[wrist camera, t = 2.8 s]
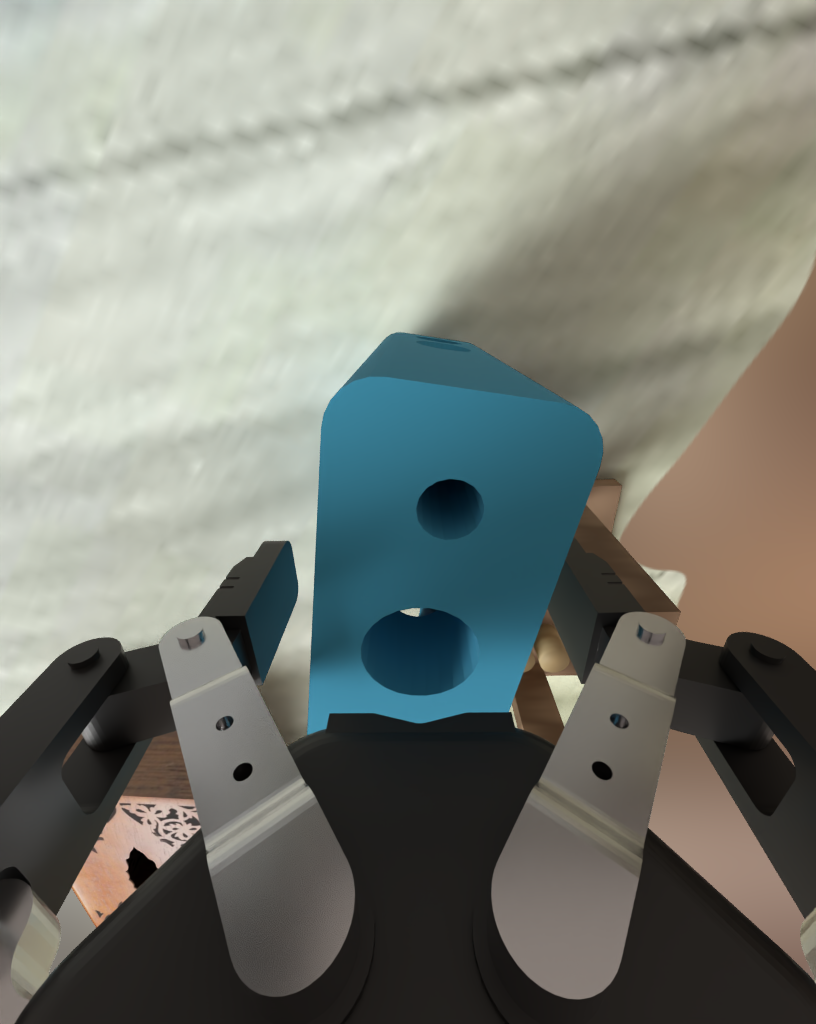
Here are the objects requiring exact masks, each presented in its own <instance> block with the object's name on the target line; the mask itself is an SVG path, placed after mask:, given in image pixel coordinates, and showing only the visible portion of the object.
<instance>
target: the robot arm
mask: <svg viewBox="0 0 816 1024" xmlns="http://www.w3.org/2000/svg"><path fill="white" fill-rule="evenodd" d="M297 596H298V580H297V575H296V569H295V563H294V557H293V552H292V546H291V544H290V542H289V541H264V542H263V543H262V545H261V546H260V548H259V549H258V551H257V552H256V554H255V555H254V557H246V558H245V559H244V560H242V561H241V562H239V563H238V564H237V565H235V566H234V567H233V568H232V570H231V571H230V572H229V574H228V575H227V577H226V580H224V581H223V582H222V584H221V585H220V589H217V591H216V592H215V594H214V595H213V596H212V598H211V599H210V601H209V602H208V604H207V605H206V606H205V608H204V609H203V611H202V612H201V613H200V615H199V616H198V617H196V618H192V619H189V620H186V621H183V622H181V623H179V624H177V625H175V626H174V627H172V628H171V629H170V630H169V631H167V632H166V633H165V634H164V635H163V637H162V638H161V640H160V642H159V644H157V645H153V646H149V647H145V648H140V649H136V650H132V651H128V652H124V650H123V648H122V645H121V643H120V642H119V641H118V640H117V639H114V638H97V639H92V640H89V641H86V642H83V643H81V644H78V645H76V646H74V647H72V648H70V649H69V650H67V651H66V652H64V653H63V654H61V655H60V656H59V657H58V658H56V659H55V660H54V661H53V662H52V663H51V664H50V666H49V667H48V668H47V669H46V670H45V671H44V672H43V673H42V674H41V675H40V676H39V677H38V678H37V679H36V680H35V681H34V682H33V683H32V684H31V685H30V687H29V688H28V689H27V690H26V691H25V692H24V693H23V694H22V695H21V696H20V697H19V698H18V699H17V700H16V701H15V702H14V703H13V704H12V705H11V706H10V708H9V709H8V710H7V711H6V712H5V713H4V714H3V715H2V716H1V717H0V1024H816V671H815V670H814V669H813V668H812V667H811V666H810V665H809V664H808V663H807V662H806V661H805V660H804V659H803V658H802V657H801V656H800V655H799V654H797V653H796V652H795V651H794V650H792V649H791V648H789V647H788V646H786V645H784V644H783V643H781V642H779V641H777V640H774V639H772V638H769V637H766V636H763V635H759V634H756V633H750V632H738V633H734V634H731V635H730V636H729V637H728V638H727V640H726V643H725V645H724V647H720V646H714V645H710V644H705V643H700V642H695V641H691V640H687V639H685V636H684V634H683V633H682V632H681V630H680V629H679V628H678V627H677V626H676V625H674V624H673V623H671V622H670V621H668V620H666V619H664V618H662V617H660V616H657V615H654V614H651V613H646V612H645V610H644V609H643V608H642V607H641V605H640V604H639V603H638V601H637V600H636V599H635V598H634V596H633V595H632V594H631V592H630V591H629V590H628V588H627V587H626V586H625V585H624V584H622V581H621V579H620V578H619V577H618V576H617V575H615V572H614V570H613V569H612V568H611V567H610V565H609V564H608V563H607V562H606V561H605V560H603V559H602V558H600V557H598V556H597V555H595V554H594V553H586V552H585V551H584V549H583V548H582V546H581V545H580V544H579V542H578V541H577V539H576V538H573V541H572V543H571V546H570V549H569V551H568V554H567V557H566V559H565V562H564V565H563V567H562V570H561V573H560V575H559V578H558V581H557V584H556V586H555V589H554V592H553V594H552V597H551V600H550V602H549V605H548V608H547V609H548V611H549V613H550V616H551V618H552V620H553V622H554V625H555V627H556V629H557V631H558V633H559V636H560V638H561V640H562V642H563V644H564V647H565V649H566V651H567V653H568V655H569V658H570V660H571V662H572V664H573V667H574V669H575V671H576V673H577V675H578V678H579V680H580V682H581V684H585V685H584V687H583V689H582V691H581V693H580V696H579V698H578V700H577V702H576V704H575V706H574V708H573V710H572V712H571V715H570V717H569V719H568V721H567V723H566V725H565V727H564V729H563V732H562V734H561V736H560V738H559V740H558V742H557V744H556V746H555V745H554V744H552V743H551V742H549V741H547V740H546V739H544V738H542V737H540V736H538V735H535V734H533V733H531V732H528V731H525V730H522V729H518V728H515V726H514V722H513V718H512V713H511V712H466V713H462V714H458V715H454V716H450V717H446V718H442V719H438V720H434V721H430V722H426V723H414V722H409V721H405V720H401V719H397V718H392V717H388V716H384V715H380V714H376V713H329V718H328V723H327V727H326V729H323V730H320V731H317V732H314V733H311V734H309V735H307V736H305V737H303V738H301V739H299V740H297V741H295V742H294V743H292V744H291V745H289V746H288V747H287V746H286V744H285V742H284V740H283V738H282V736H281V734H280V732H279V730H278V728H277V726H276V724H275V722H274V720H273V718H272V716H271V714H270V712H269V710H268V708H267V706H266V704H265V702H264V700H263V698H262V696H261V694H260V692H259V690H258V688H257V686H256V685H263V683H264V680H265V678H266V675H267V673H268V670H269V668H270V665H271V663H272V660H273V658H274V656H275V653H276V651H277V648H278V646H279V643H280V641H281V638H282V636H283V633H284V631H285V628H286V626H287V623H288V621H289V618H290V616H291V613H292V611H293V608H294V606H295V604H296V601H297ZM670 729H673V730H677V731H680V732H684V733H687V734H691V735H695V736H696V738H697V740H698V741H699V743H700V745H701V746H702V748H703V750H704V751H705V753H706V754H707V756H708V758H709V760H710V761H711V763H712V764H713V766H714V768H715V770H716V771H717V773H718V775H719V776H720V778H721V779H722V781H723V783H724V785H725V786H726V788H727V790H728V791H729V793H730V795H731V796H732V798H733V800H734V801H735V803H736V805H737V806H738V808H739V810H740V811H741V813H742V815H743V816H744V818H745V820H746V821H747V823H748V825H749V826H750V828H751V830H752V831H753V833H754V835H755V836H756V838H757V840H758V841H759V843H760V845H761V846H762V848H763V850H764V851H765V853H766V854H767V856H768V858H769V860H770V861H771V863H772V865H773V866H774V868H775V870H776V871H777V873H778V875H779V876H780V878H781V880H782V881H783V883H784V885H785V886H786V888H787V890H788V891H789V893H790V895H791V896H792V898H793V900H794V901H795V903H796V905H797V906H798V908H799V910H800V912H801V913H802V915H803V917H804V918H805V920H804V922H803V923H802V926H801V930H800V932H801V933H800V939H801V945H802V949H803V952H804V955H805V958H806V960H807V962H808V964H809V966H810V969H811V971H812V973H813V975H814V980H813V979H812V978H811V977H810V976H809V975H808V974H807V973H806V972H805V971H804V970H803V969H802V968H801V967H800V966H799V965H798V964H797V963H796V962H795V961H794V960H793V959H792V958H791V957H790V956H789V955H788V954H786V953H785V952H784V951H783V950H782V949H781V948H780V947H779V946H778V945H777V944H775V943H774V942H773V941H772V940H771V939H770V938H769V937H768V936H767V935H766V934H764V933H763V932H762V931H761V930H760V929H759V928H758V927H757V926H756V925H754V923H752V922H751V921H750V920H749V919H748V918H747V917H746V916H745V915H744V914H743V913H741V912H740V911H739V910H738V909H737V908H736V907H735V906H734V905H733V904H732V903H730V902H729V901H728V900H727V899H726V898H725V897H724V896H723V895H721V893H719V892H718V891H717V890H716V889H715V888H714V887H713V886H712V885H710V883H708V882H707V881H706V880H705V879H704V878H703V877H702V876H701V875H700V874H699V873H697V872H696V871H695V870H694V869H693V868H692V867H691V866H690V865H689V864H687V863H686V862H685V861H684V860H683V859H682V858H681V857H680V856H679V855H678V854H676V853H675V852H674V851H673V850H672V849H671V848H670V847H669V846H668V845H666V844H665V843H664V842H663V841H662V840H661V839H660V838H659V837H658V836H657V835H655V834H654V833H653V832H652V831H651V830H650V829H649V828H648V823H649V819H650V815H651V811H652V806H653V802H654V797H655V792H656V788H657V784H658V779H659V775H660V770H661V766H662V761H663V757H664V752H665V747H666V743H667V739H668V734H669V730H670ZM174 731H177V734H178V738H179V742H180V746H181V750H182V754H183V758H184V762H185V766H186V770H187V774H188V778H189V782H190V786H191V790H192V794H193V798H194V802H195V806H196V810H197V814H198V818H199V822H200V826H201V828H200V829H199V830H198V831H197V832H196V833H195V834H194V835H193V836H192V837H191V838H189V839H188V840H187V841H186V842H185V843H184V844H183V845H182V846H181V847H180V848H179V849H178V850H177V851H176V852H175V853H174V854H173V855H172V856H171V857H170V858H169V859H168V860H167V861H166V862H164V863H163V864H162V865H161V866H160V867H159V868H158V869H157V870H156V871H155V872H154V873H153V874H152V875H151V876H150V877H149V878H148V879H147V880H146V881H145V882H144V883H143V884H142V885H141V886H139V887H138V888H137V889H136V890H135V891H134V892H133V893H132V894H131V895H130V896H129V897H128V898H127V899H126V900H125V901H124V902H123V903H122V904H121V905H120V906H119V907H118V908H117V909H116V910H114V911H113V912H112V913H111V914H110V915H109V916H108V917H107V918H106V919H105V920H104V921H103V922H102V923H101V924H100V925H99V926H98V927H97V928H96V929H95V930H94V931H93V932H92V933H91V934H89V935H88V936H87V938H85V939H84V940H83V941H82V942H81V943H80V944H79V945H78V946H77V947H76V948H75V949H74V950H73V951H72V952H71V953H70V954H69V955H68V956H67V957H66V958H65V959H64V960H63V961H62V962H61V963H60V964H59V965H58V966H57V967H56V968H55V969H54V971H53V972H52V973H51V974H50V972H49V970H50V968H51V966H52V963H53V960H54V958H55V956H56V953H57V950H58V947H59V943H60V937H61V926H60V923H59V920H58V918H57V917H56V915H57V913H58V911H59V909H60V908H61V906H62V904H63V902H64V900H65V898H66V896H67V895H68V893H69V891H70V889H71V887H72V886H73V884H74V882H75V880H76V878H77V876H78V875H79V873H80V871H81V869H82V867H83V865H84V864H85V862H86V860H87V858H88V856H89V855H90V853H91V851H92V849H93V847H94V845H95V844H96V842H97V840H98V838H99V836H100V834H101V833H102V831H103V829H104V827H105V825H106V823H107V822H108V820H109V818H110V816H111V814H112V812H113V811H114V809H115V807H116V805H117V803H118V801H119V800H120V798H121V796H122V794H123V792H124V790H125V789H126V787H127V785H128V783H129V781H130V779H131V778H132V776H133V774H134V772H135V770H136V769H137V767H138V765H139V763H140V761H141V759H142V758H143V756H144V754H145V752H146V750H147V748H148V747H149V745H150V743H151V741H152V739H153V738H154V737H157V736H160V735H164V734H167V733H171V732H174ZM81 734H82V736H83V739H82V740H81V742H80V743H79V744H78V746H77V747H76V749H75V750H74V751H73V753H72V754H71V756H70V757H69V758H68V760H67V761H66V763H65V764H64V765H63V762H64V759H65V757H66V755H67V753H68V752H69V750H70V749H71V747H72V746H73V744H74V743H75V742H76V740H77V739H78V738H79V736H80V735H81ZM774 734H775V735H776V737H777V738H778V739H779V740H780V742H781V743H782V744H783V745H784V747H785V748H786V749H787V751H788V752H789V754H790V755H791V757H792V760H793V762H794V765H795V767H794V765H793V764H792V763H791V761H790V760H789V759H788V758H787V756H786V755H785V754H784V752H783V751H782V750H781V749H780V747H779V746H778V745H777V743H776V742H775V741H774V739H773V738H772V737H773V735H774ZM62 765H63V767H62Z"/></svg>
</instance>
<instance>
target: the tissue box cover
mask: <svg viewBox="0 0 816 1024" xmlns="http://www.w3.org/2000/svg"><path fill="white" fill-rule="evenodd" d="M82 739H83V736H82V734H81V735H80V736H79V738H78V739H77V740H76V742H75V743H74V744H73V746H72V747H71V749H70V750H69V752H68V753H67V755H66V757H65V759H64V762H63V765H64V764H65V763H66V761H67V760H68V758H69V757H70V756H71V754H72V753H73V751H74V750H75V749H76V747H77V746H78V744H79V743H80V742H81V740H82ZM63 765H62V767H63ZM200 828H201V826H200V822H199V818H198V814H197V810H196V806H195V802H194V798H193V794H192V790H191V786H190V782H189V778H188V774H187V770H186V766H185V762H184V758H183V754H182V750H181V746H180V742H179V738H178V734H177V731H174V732H171V733H167V734H164V735H160V736H157V737H154V738H153V739H152V741H151V743H150V745H149V747H148V748H147V750H146V752H145V754H144V756H143V758H142V759H141V761H140V763H139V765H138V767H137V769H136V770H135V772H134V774H133V776H132V778H131V779H130V781H129V783H128V785H127V787H126V789H125V790H124V792H123V794H122V796H121V798H120V800H119V801H118V803H117V805H116V807H115V809H114V811H113V812H112V814H111V816H110V818H109V820H108V822H107V823H106V825H105V827H104V829H103V831H102V833H101V834H100V836H99V838H98V840H97V842H96V844H95V845H94V847H93V849H92V851H91V853H90V855H89V856H88V858H87V860H86V862H85V864H84V865H83V867H82V869H81V871H80V873H79V875H78V876H77V878H76V880H75V882H74V884H73V886H72V887H71V888H72V889H73V891H74V893H75V894H76V896H77V897H78V899H79V901H80V902H81V904H82V906H83V907H84V909H85V910H86V912H87V914H88V915H89V917H90V918H91V920H92V921H93V923H94V925H95V926H96V928H97V927H98V926H99V925H100V924H101V923H102V922H103V921H104V920H105V919H106V918H107V917H108V916H109V915H110V914H111V913H112V912H113V911H114V910H116V909H117V908H118V907H119V906H120V905H121V904H122V903H123V902H124V901H125V900H126V899H127V898H128V897H129V896H130V895H131V894H132V893H133V892H134V891H135V890H136V889H137V888H138V887H139V886H141V885H142V884H143V883H144V882H145V881H146V880H147V879H148V878H149V877H150V876H151V875H152V874H153V873H154V872H155V871H156V870H157V869H158V868H159V867H160V866H161V865H162V864H163V863H164V862H166V861H167V860H168V859H169V858H170V857H171V856H172V855H173V854H174V853H175V852H176V851H177V850H178V849H179V848H180V847H181V846H182V845H183V844H184V843H185V842H186V841H187V840H188V839H189V838H191V837H192V836H193V835H194V834H195V833H196V832H197V831H198V830H199V829H200Z"/></svg>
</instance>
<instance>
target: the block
mask: <svg viewBox="0 0 816 1024" xmlns="http://www.w3.org/2000/svg"><path fill="white" fill-rule="evenodd" d="M602 456H603V439H602V436H601V433H600V431H599V428H598V426H597V424H596V423H595V422H594V421H593V419H592V418H591V417H590V415H588V414H587V413H585V412H584V411H582V410H581V409H579V408H578V407H576V406H574V405H573V404H571V403H569V402H568V401H566V400H564V399H563V398H561V397H559V396H558V395H556V394H554V393H553V392H551V391H549V390H548V389H546V388H544V387H543V386H541V385H539V384H538V383H536V382H534V381H533V380H531V379H530V378H528V377H526V376H525V375H523V374H521V373H520V372H518V371H516V370H515V369H513V368H511V367H510V366H508V365H506V364H505V363H503V362H501V361H500V360H498V359H496V358H495V357H493V356H491V355H490V354H488V353H486V352H485V351H483V350H481V349H480V348H478V347H476V346H475V345H473V344H470V343H467V342H461V341H454V340H448V339H441V338H435V337H428V336H422V335H415V334H409V333H394V334H391V335H389V336H388V337H386V339H385V340H384V341H383V342H382V343H381V344H380V345H379V346H378V347H377V349H376V350H375V351H374V352H373V353H372V354H371V355H370V356H369V357H368V359H367V360H366V361H365V362H364V363H363V364H362V365H361V366H360V368H359V369H358V370H357V371H356V372H355V373H354V374H353V375H352V377H351V378H350V379H349V380H348V381H347V382H346V383H345V384H344V386H343V387H342V388H341V389H340V390H339V391H338V392H337V393H336V395H335V396H334V397H333V398H332V399H331V400H330V402H329V404H328V406H327V408H326V410H325V412H324V416H323V421H322V427H321V445H320V467H319V489H318V510H317V532H316V554H315V576H314V598H313V620H312V641H311V663H310V685H309V707H308V729H307V735H309V734H311V733H314V732H317V731H320V730H323V729H326V727H327V723H328V718H329V713H376V714H380V715H384V716H388V717H392V718H397V719H401V720H405V721H409V722H414V723H426V722H430V721H434V720H438V719H442V718H446V717H450V716H454V715H458V714H462V713H466V712H509V710H510V707H511V704H512V702H513V699H514V696H515V693H516V691H517V688H518V685H519V683H520V680H521V677H522V675H523V672H524V669H525V667H526V664H527V661H528V659H529V656H530V653H531V651H532V648H533V645H534V643H535V640H536V637H537V634H538V632H539V629H540V626H541V624H542V621H543V618H544V616H545V613H546V610H547V608H548V605H549V602H550V600H551V597H552V594H553V592H554V589H555V586H556V584H557V581H558V578H559V575H560V573H561V570H562V567H563V565H564V562H565V559H566V557H567V554H568V551H569V549H570V546H571V543H572V541H573V538H574V535H575V533H576V530H577V527H578V525H579V522H580V519H581V516H582V514H583V511H584V508H585V506H586V503H587V500H588V498H589V495H590V492H591V490H592V487H593V484H594V482H595V479H596V476H597V474H598V471H599V468H600V465H601V460H602ZM410 608H420V613H419V616H418V617H415V616H410V615H406V614H404V613H402V612H401V611H400V610H405V609H410Z"/></svg>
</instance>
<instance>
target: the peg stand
mask: <svg viewBox="0 0 816 1024" xmlns="http://www.w3.org/2000/svg"><path fill="white" fill-rule="evenodd" d="M621 489H622V485H621V484H620V483H618V482H617V481H616V480H615V479H595V482H594V484H593V487H592V490H591V492H590V495H589V498H588V500H587V503H586V506H585V508H584V511H583V514H582V516H581V519H580V522H579V525H578V527H577V530H576V533H575V535H574V538H576V539H577V541H578V542H579V544H580V545H581V546H582V548H583V549H584V551H585V552H586V553H594V554H595V555H597V556H598V557H600V558H602V559H603V560H605V561H606V562H607V563H608V564H609V565H610V567H611V568H612V569H613V570H614V572H615V575H617V576H618V577H619V578H620V579H621V581H622V584H624V585H625V586H626V587H627V588H628V590H629V591H630V592H631V594H632V595H633V596H634V598H635V599H636V600H637V601H638V603H639V604H640V605H641V607H642V608H643V609H644V610H645V612H646V613H651V614H654V615H657V616H660V617H662V618H664V619H666V620H668V621H670V622H671V623H673V624H674V625H677V622H678V619H679V616H680V613H681V611H680V610H679V609H678V608H677V607H676V606H675V605H674V603H673V602H672V601H671V600H670V599H669V598H668V597H667V596H666V594H665V593H664V592H663V591H662V590H661V589H660V588H659V586H658V585H657V584H656V583H655V582H654V581H653V580H652V579H651V577H650V576H649V575H648V574H647V573H646V572H645V571H644V570H643V568H642V567H641V566H640V565H639V564H638V563H637V562H636V560H635V559H634V558H633V557H632V556H631V555H630V554H629V553H628V552H627V550H626V549H625V548H624V547H623V546H622V545H621V544H620V542H619V541H618V540H617V539H616V538H615V537H614V536H613V534H612V529H613V524H614V520H615V515H616V511H617V506H618V502H619V498H620V493H621ZM553 675H577V673H576V671H575V669H574V667H573V664H572V662H571V660H570V658H569V655H568V653H567V651H566V649H565V647H564V644H563V642H562V640H561V638H560V636H559V633H558V631H557V629H556V627H555V625H554V622H553V620H552V618H551V616H550V613H549V611H548V609H547V610H546V613H545V616H544V618H543V621H542V624H541V626H540V629H539V632H538V634H537V637H536V640H535V643H534V645H533V648H532V651H531V653H530V656H529V659H528V661H527V664H526V667H525V669H524V672H523V675H522V677H521V680H520V683H519V685H518V688H517V691H516V693H515V696H514V699H513V702H512V707H513V711H514V715H515V719H516V723H517V727H518V729H522V730H525V731H528V732H531V733H533V734H535V735H538V736H540V737H542V738H544V739H546V740H547V741H549V742H551V743H552V744H554V745H555V746H556V744H557V742H558V740H559V738H560V736H561V734H562V732H563V729H564V725H563V722H562V719H561V717H560V714H559V711H558V708H557V706H556V703H555V700H554V697H553V694H552V692H551V689H550V686H549V683H548V681H547V678H546V676H553Z"/></svg>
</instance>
